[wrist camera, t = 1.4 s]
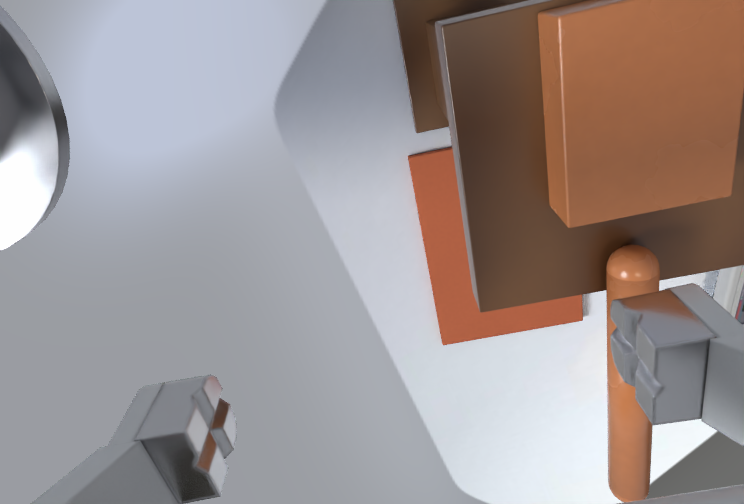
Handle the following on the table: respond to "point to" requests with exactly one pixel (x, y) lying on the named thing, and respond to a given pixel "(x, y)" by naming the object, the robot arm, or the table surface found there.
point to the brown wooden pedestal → (533, 161)
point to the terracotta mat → (466, 262)
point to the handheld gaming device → (731, 291)
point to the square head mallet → (638, 147)
